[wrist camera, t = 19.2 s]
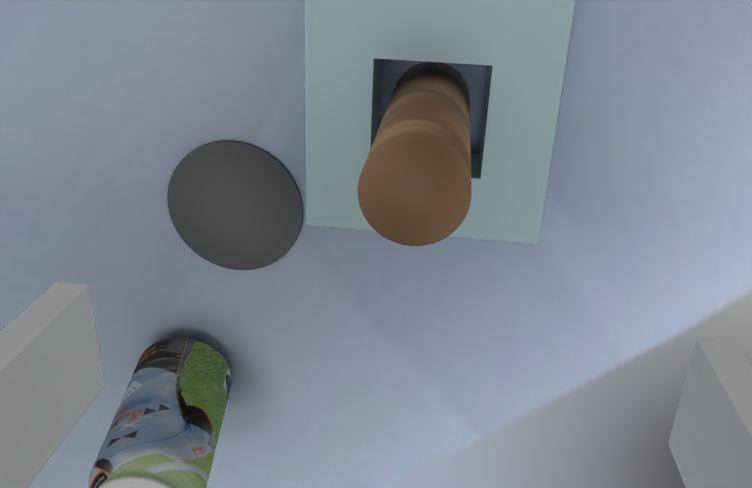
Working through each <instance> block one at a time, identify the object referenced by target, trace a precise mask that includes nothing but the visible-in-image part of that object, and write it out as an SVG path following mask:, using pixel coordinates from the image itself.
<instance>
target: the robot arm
mask: <svg viewBox="0 0 752 488" xmlns="http://www.w3.org/2000/svg"><path fill="white" fill-rule="evenodd" d="M103 387H104V379H103V373H102V366H101V360H100V353H99V347H98V340H97V334H96V327H95V321H94V314H93V308H92V302H91V295H90V289H89V285H87V284H76V283H65V282H55V283H54V284H53V285H52V286H51V287H50V288H48V289H47V290H46V291H45V292H44V293H43V294H42V295H41V296H40V297H38V298H37V299H36V300H35V301H34V302H33V303H32V304H31V305H30V306H28V307H27V308H26V309H25V310H24V311H23V312H22V313H21V314H20V315H18V316H17V317H16V318H15V319H14V320H13V321H12V322H11V323H10V324H8V325H7V326H6V327H5V328H4V329H3V330H2V331H1V332H0V488H27V487H28V486H29V485H30V483H31V482H32V481H33V479H34V478H35V477H36V475H37V474H38V473H39V471H40V470H41V469H42V468H43V466H44V465H45V464H46V462H47V461H48V460H49V458H50V457H51V456H52V454H53V453H54V452H55V450H56V449H57V448H58V447H59V445H60V444H61V443H62V441H63V440H64V439H65V437H66V436H67V435H68V433H69V432H70V431H71V429H72V428H73V427H74V425H75V424H76V423H77V422H78V420H79V419H80V418H81V416H82V415H83V414H84V412H85V411H86V410H87V408H88V407H89V406H90V404H91V403H92V402H93V401H94V399H95V398H96V397H97V395H98V394H99V393H100V391H101V390H102V389H103ZM669 446H670V449H671V451H672V454H673V456H674V459H675V461H676V464H677V467H678V469H679V472H680V474H681V477H682V479H683V482H684V484H685V487H686V488H752V368H751V366H750V365H749V363H748V361H747V360H746V358H745V357H744V355H743V354H742V352H741V350H740V349H739V347H738V346H737V344H736V343H735V342H725V341H714V340H703V339H697V341H696V344H695V348H694V352H693V356H692V359H691V363H690V366H689V370H688V374H687V377H686V381H685V385H684V388H683V392H682V396H681V399H680V403H679V406H678V410H677V414H676V418H675V421H674V425H673V429H672V432H671V436H670V439H669Z"/></svg>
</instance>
